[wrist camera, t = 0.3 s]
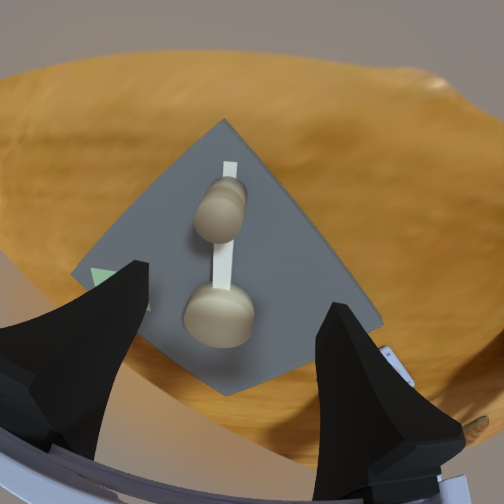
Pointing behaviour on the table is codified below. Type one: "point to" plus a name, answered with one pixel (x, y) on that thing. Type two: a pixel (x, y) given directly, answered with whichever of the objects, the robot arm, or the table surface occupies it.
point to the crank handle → (221, 271)
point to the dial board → (243, 267)
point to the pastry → (475, 429)
